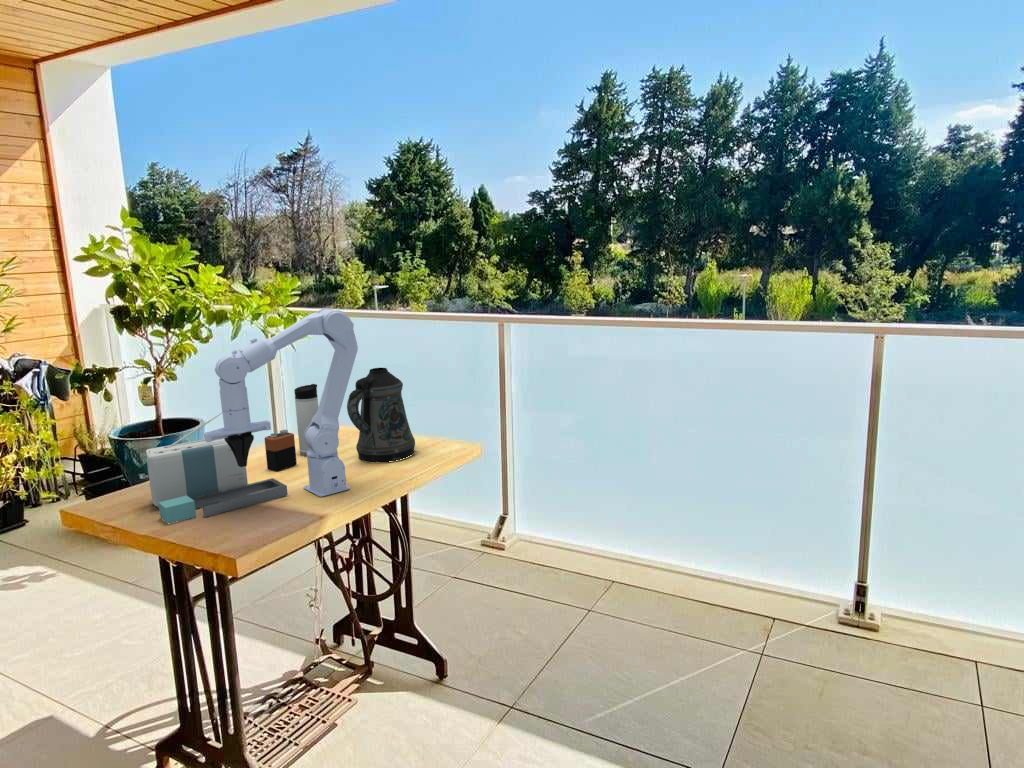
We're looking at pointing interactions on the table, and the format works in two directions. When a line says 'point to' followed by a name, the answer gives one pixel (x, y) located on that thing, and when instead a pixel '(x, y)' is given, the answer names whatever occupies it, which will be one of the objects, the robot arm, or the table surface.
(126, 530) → the table surface
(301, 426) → the travel mug
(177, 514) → the block
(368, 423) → the beer stein
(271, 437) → the battery
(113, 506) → the table surface
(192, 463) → the stereo radio cassette player
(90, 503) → the table surface
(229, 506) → the chute
